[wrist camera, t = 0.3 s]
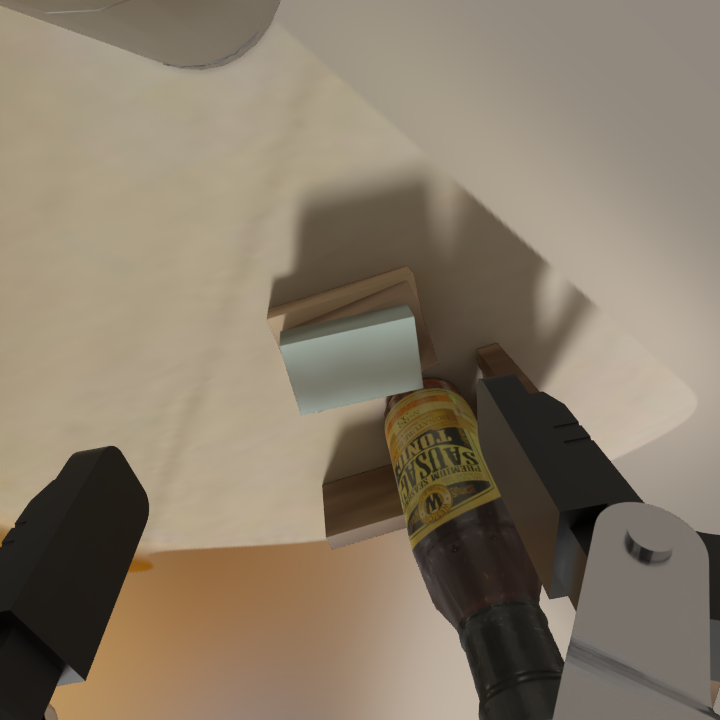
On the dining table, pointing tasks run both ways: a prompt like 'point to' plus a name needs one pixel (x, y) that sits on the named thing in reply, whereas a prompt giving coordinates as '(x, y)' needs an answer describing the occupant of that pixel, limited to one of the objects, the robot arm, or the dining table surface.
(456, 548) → the sauce bottle
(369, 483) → the walnut rack
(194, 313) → the dining table surface
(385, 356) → the offcut stack
